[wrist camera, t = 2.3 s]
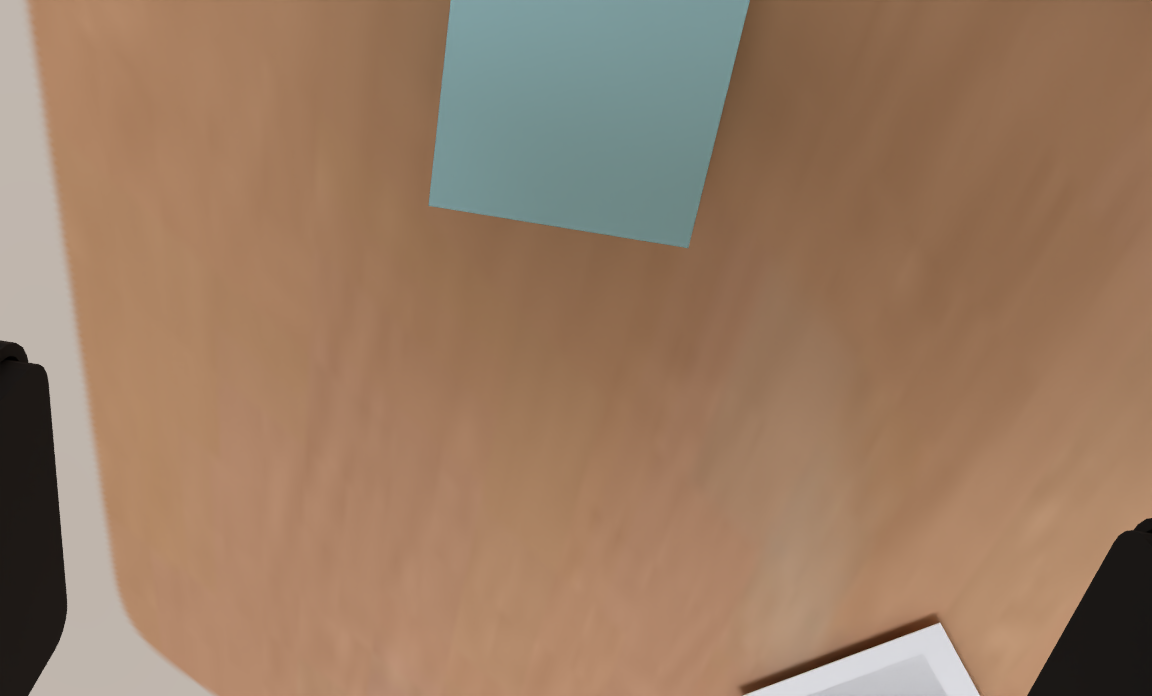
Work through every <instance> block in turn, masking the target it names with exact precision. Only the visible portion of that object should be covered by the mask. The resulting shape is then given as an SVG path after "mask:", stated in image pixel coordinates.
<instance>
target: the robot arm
mask: <svg viewBox="0 0 1152 696" xmlns="http://www.w3.org/2000/svg"><path fill="white" fill-rule="evenodd" d="M59 513H60V512H59V501H58V489H57V477H56V465H55V454H54V442H53V430H52V418H51V408H50V395H49V383H48V377H47V373H46V371H45V369H44V367H42V366H41V365H39V364H33V363H28V358H27V355H26V353H25V351H24V349H23V347H21V346H20V345H18V344H17V343H13V342H6V341H0V696H28V695H29V693H30V691H31V690H32V688H33V686H34V685H35V683H36V681H37V679H38V678H39V676H40V674H41V673H42V671H43V669H44V667H45V666H46V664H47V662H48V661H49V659H50V657H51V655H52V654H53V652H54V650H55V648H56V646H57V644H58V642H59V640H60V637H61V635H62V632H63V628H64V624H65V620H66V614H67V594H66V583H65V572H64V560H63V547H62V536H61V525H60V514H59ZM1027 696H1152V518H1149V519H1146V520H1144V521H1143V522H1141V523H1140V524H1138V525H1137V526H1136V528H1135V529H1134V530H1131V531H1125V532H1124V533H1122V534H1121V535H1119V536H1118V538H1117V539H1116V540H1115V542H1114V543H1113V545H1112V547H1111V548H1110V550H1109V552H1108V554H1107V555H1106V557H1105V559H1104V561H1103V563H1102V564H1101V566H1100V568H1099V570H1098V571H1097V573H1096V575H1095V577H1094V578H1093V580H1092V582H1091V584H1090V586H1089V587H1088V589H1087V591H1086V593H1085V594H1084V596H1083V598H1082V600H1081V601H1080V603H1079V605H1078V607H1077V609H1076V610H1075V612H1074V614H1073V616H1072V617H1071V619H1070V621H1069V623H1068V624H1067V626H1066V628H1065V630H1064V632H1063V633H1062V635H1061V637H1060V639H1059V640H1058V642H1057V644H1056V646H1055V647H1054V649H1053V651H1052V653H1051V655H1050V656H1049V658H1048V660H1047V662H1046V663H1045V665H1044V667H1043V669H1042V670H1041V672H1040V674H1039V676H1038V678H1037V679H1036V681H1035V683H1034V685H1033V686H1032V688H1031V690H1030V692H1029V693H1028V695H1027Z"/></svg>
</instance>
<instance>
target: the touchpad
mask: <svg viewBox="0 0 1152 696" xmlns="http://www.w3.org/2000/svg"><path fill="white" fill-rule="evenodd" d="M743 696H980V695H979V693H978V691H977V689H976V688H975V686H974V684H973V682H972V680H971V678H970V677H969V675H968V673H967V671H966V669H965V667H964V665H963V664H962V662H961V660H960V658H959V656H958V654H957V653H956V651H955V649H954V647H953V645H952V643H951V642H950V640H949V638H948V636H947V634H946V632H945V631H944V629H943V627H942V625H941V623H937V624H934V625H932V626H929V627H926V628H924V629H921V630H918V631H915V632H913V633H910V634H907V635H905V636H902V637H899V638H896V639H894V640H891V641H888V642H886V643H883V644H880V645H878V646H875V647H872V648H869V649H867V650H864V651H861V652H859V653H856V654H853V655H851V656H848V657H845V658H842V659H840V660H837V661H834V662H832V663H829V664H826V665H824V666H821V667H818V668H815V669H813V670H810V671H807V672H805V673H802V674H799V675H797V676H794V677H791V678H788V679H786V680H783V681H780V682H778V683H775V684H772V685H770V686H767V687H764V688H761V689H759V690H756V691H753V692H751V693H748V694H745V695H743Z"/></svg>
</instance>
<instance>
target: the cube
mask: <svg viewBox="0 0 1152 696" xmlns="http://www.w3.org/2000/svg"><path fill="white" fill-rule="evenodd" d="M749 1H750V0H451V4H450V13H449V22H448V31H447V41H446V50H445V59H444V68H443V77H442V87H441V96H440V105H439V114H438V124H437V133H436V142H435V151H434V160H433V170H432V179H431V188H430V197H429V206H433V207H439V208H446V209H452V210H458V211H464V212H470V213H476V214H482V215H488V216H495V217H501V218H507V219H513V220H519V221H525V222H531V223H537V224H543V225H550V226H556V227H562V228H568V229H574V230H580V231H586V232H592V233H599V234H605V235H611V236H617V237H623V238H629V239H635V240H641V241H647V242H654V243H660V244H666V245H672V246H678V247H684V248H688V247H689V243H690V239H691V235H692V231H693V227H694V223H695V219H696V215H697V211H698V207H699V203H700V199H701V195H702V191H703V187H704V183H705V179H706V175H707V171H708V167H709V163H710V158H711V154H712V150H713V146H714V142H715V138H716V134H717V130H718V126H719V122H720V118H721V114H722V110H723V106H724V102H725V98H726V94H727V90H728V86H729V82H730V78H731V74H732V70H733V66H734V62H735V58H736V54H737V50H738V46H739V42H740V38H741V34H742V30H743V26H744V21H745V17H746V13H747V9H748V5H749Z"/></svg>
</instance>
